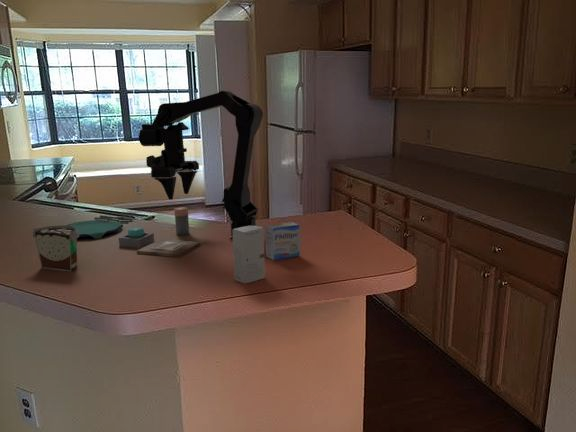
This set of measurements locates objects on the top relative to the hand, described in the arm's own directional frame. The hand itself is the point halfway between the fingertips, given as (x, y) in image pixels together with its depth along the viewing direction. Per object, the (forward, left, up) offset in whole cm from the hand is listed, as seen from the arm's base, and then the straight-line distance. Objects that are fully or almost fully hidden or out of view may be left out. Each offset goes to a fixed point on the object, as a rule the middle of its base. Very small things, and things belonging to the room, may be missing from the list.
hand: (178, 196), depth 152 cm
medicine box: (-39, +14, -12) cm, 43 cm away
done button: (+6, +14, -10) cm, 18 cm away
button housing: (+6, +14, -12) cm, 19 cm away
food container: (+12, +36, -12) cm, 40 cm away
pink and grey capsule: (-1, 0, -12) cm, 12 cm away
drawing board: (-6, +16, -12) cm, 21 cm away
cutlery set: (+30, +1, -13) cm, 33 cm away
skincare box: (-37, +32, -12) cm, 50 cm away
